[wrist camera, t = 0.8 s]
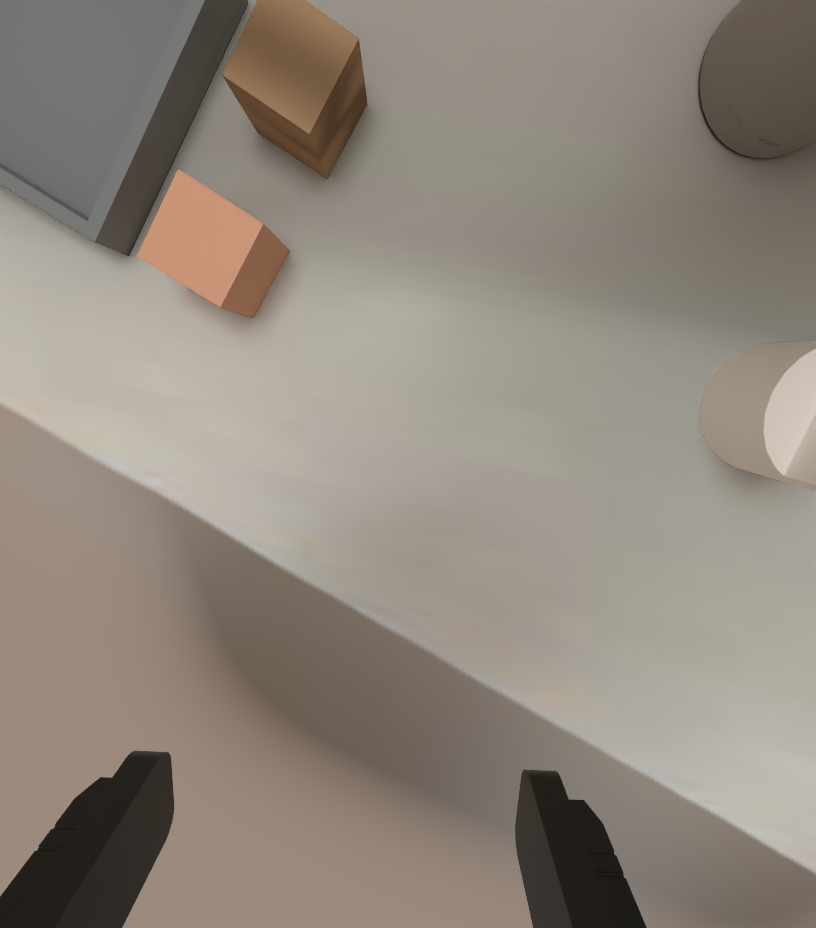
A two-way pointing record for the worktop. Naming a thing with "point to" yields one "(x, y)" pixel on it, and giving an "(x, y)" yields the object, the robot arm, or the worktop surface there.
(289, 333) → the worktop surface
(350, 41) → the walnut block
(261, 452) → the worktop surface
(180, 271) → the terracotta block
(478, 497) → the worktop surface
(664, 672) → the worktop surface
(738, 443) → the cylinder with rectangular tab
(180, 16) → the tray
